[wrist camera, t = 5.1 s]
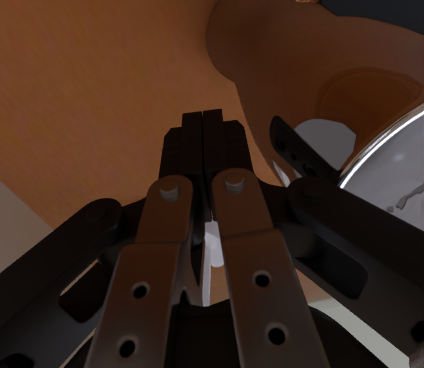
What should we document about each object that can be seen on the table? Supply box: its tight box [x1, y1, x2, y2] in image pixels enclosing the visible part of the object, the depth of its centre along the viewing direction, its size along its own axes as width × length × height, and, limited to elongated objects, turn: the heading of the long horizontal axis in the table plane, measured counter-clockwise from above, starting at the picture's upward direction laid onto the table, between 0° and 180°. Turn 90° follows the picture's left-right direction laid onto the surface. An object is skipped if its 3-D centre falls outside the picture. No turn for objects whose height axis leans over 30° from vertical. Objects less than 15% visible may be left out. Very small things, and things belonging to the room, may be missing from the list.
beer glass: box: [206, 0, 424, 231], centre depth 14 cm, size 7×7×15 cm
